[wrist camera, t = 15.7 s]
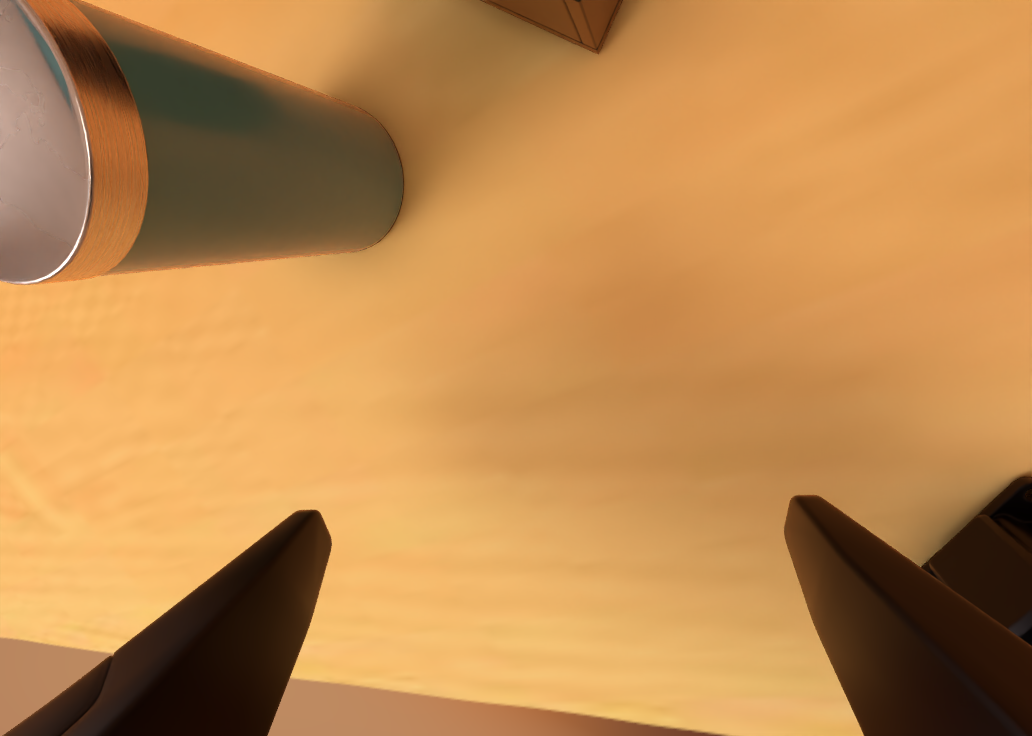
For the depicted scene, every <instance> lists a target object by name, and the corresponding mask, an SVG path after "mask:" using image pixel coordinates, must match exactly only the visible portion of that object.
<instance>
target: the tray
mask: <svg viewBox="0 0 1032 736" xmlns="http://www.w3.org/2000/svg"><path fill="white" fill-rule="evenodd" d="M481 1H483V2H485V3H487V4H489V5H492V6H494V7H496V8H498V9H500V10H502V11H505V12H507V13H509V14H511V15H513V16H516V17H518V18H520V19H522V20H524V21H526V22H529V23H531V24H533V25H535V26H537V27H540V28H542V29H544V30H546V31H548V32H550V33H553V34H555V35H557V36H559V37H561V38H563V39H566V40H568V41H570V42H572V43H574V44H577V45H579V46H581V47H583V48H585V49H587V50H590V51H592V52H594V53H596V54H599V52H600V50H601V48H602V46H603V43H604V41H605V39H606V37H607V34H608V32H609V30H610V28H611V25H612V23H613V21H614V19H615V16H616V14H617V12H618V10H619V7H620V5H621V3H622V1H623V0H481Z"/></svg>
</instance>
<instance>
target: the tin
mask: <svg viewBox="0 0 1032 736" xmlns="http://www.w3.org/2000/svg"><path fill="white" fill-rule="evenodd" d="M402 196H403V172H402V167H401V162H400V159H399V155H398V152H397V150H396V148H395V145H394V143H393V141H392V140H391V138H390V136H389V134H388V133H387V132H386V130H385V129H384V127H383V126H382V125H381V124H380V123H379V122H378V121H377V120H376V119H375V118H374V117H373V116H371V115H370V114H369V113H367V112H366V111H364V110H362V109H361V108H358V107H356V106H354V105H351V104H349V103H346V102H343V101H341V100H338V99H336V98H333V97H330V96H328V95H325V94H323V93H320V92H317V91H315V90H312V89H310V88H307V87H304V86H302V85H299V84H297V83H294V82H292V81H289V80H286V79H284V78H281V77H279V76H276V75H273V74H271V73H268V72H266V71H263V70H260V69H258V68H255V67H253V66H250V65H247V64H245V63H242V62H240V61H237V60H234V59H232V58H229V57H227V56H224V55H221V54H219V53H216V52H214V51H211V50H209V49H206V48H203V47H201V46H198V45H196V44H193V43H190V42H188V41H185V40H183V39H180V38H177V37H175V36H172V35H170V34H167V33H164V32H162V31H159V30H157V29H154V28H151V27H149V26H146V25H144V24H141V23H138V22H136V21H133V20H131V19H128V18H126V17H123V16H120V15H118V14H115V13H113V12H110V11H107V10H105V9H102V8H100V7H97V6H94V5H92V4H89V3H87V2H84V1H81V0H0V281H2V282H7V283H12V284H17V285H34V284H44V283H54V282H64V281H75V280H83V279H89V278H94V277H96V276H105V275H115V274H126V273H137V272H147V271H158V270H168V269H179V268H190V267H200V266H211V265H221V264H232V263H243V262H253V261H264V260H274V259H285V258H296V257H306V256H317V255H327V254H338V253H348V252H356V251H361V250H364V249H367V248H369V247H371V246H373V245H374V244H376V243H377V242H378V241H380V240H381V239H382V238H383V237H384V236H385V235H386V234H387V232H388V231H389V230H390V229H391V227H392V225H393V224H394V222H395V220H396V218H397V215H398V213H399V210H400V206H401V203H402Z"/></svg>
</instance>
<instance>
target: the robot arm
mask: <svg viewBox="0 0 1032 736" xmlns="http://www.w3.org/2000/svg"><path fill="white" fill-rule="evenodd" d="M1030 489H1032V477H1023V478H1019V479H1017V480H1015V481H1014V482H1012V483H1011V484H1010V485H1009V486H1008V487H1007V488H1006V489H1005V490H1004V491H1003V492H1002V493H1001V494H1000V495H998V496H997V497H996V498H995V499H994V500H993V501H992V502H991V503H990V504H989V505H988V506H987V507H986V508H985V509H984V510H982V511H981V512H980V513H979V514H978V515H977V516H976V517H975V518H974V519H973V520H972V521H971V522H970V523H969V524H967V525H966V526H965V527H964V528H963V529H962V530H961V531H960V532H959V533H958V534H957V535H956V536H955V537H954V538H953V539H951V540H950V541H949V542H948V543H947V544H946V545H945V546H944V547H943V548H942V549H941V550H940V551H939V552H938V553H937V554H935V555H934V556H933V557H932V558H931V559H930V560H929V561H928V562H927V563H926V564H925V565H924V566H923V567H922V568H921V567H919V566H918V565H916V564H915V563H914V562H912V561H911V560H909V559H908V558H906V557H905V556H904V555H902V554H901V553H899V552H898V551H897V550H895V549H894V548H892V547H891V546H889V545H888V544H887V543H885V542H884V541H882V540H881V539H880V538H878V537H877V536H875V535H874V534H873V533H871V532H870V531H868V530H867V529H865V528H864V527H863V526H861V525H860V524H858V523H857V522H856V521H854V520H853V519H851V518H850V517H848V516H847V515H846V514H844V513H843V512H841V511H840V510H839V509H837V508H836V507H834V506H833V505H831V504H830V503H829V502H827V501H826V500H824V499H823V498H821V497H819V496H817V495H797V496H794V497H792V499H791V500H790V504H789V508H788V513H787V517H786V522H785V526H784V535H785V540H786V543H787V546H788V549H789V552H790V555H791V558H792V561H793V564H794V567H795V570H796V573H797V576H798V579H799V582H800V585H801V588H802V591H803V594H804V597H805V600H806V603H807V606H808V609H809V612H810V615H811V618H812V620H813V623H814V626H815V628H816V630H817V633H818V635H819V637H820V640H821V642H822V644H823V646H824V648H825V651H826V653H827V655H828V657H829V659H830V662H831V664H832V666H833V668H834V670H835V673H836V675H837V677H838V679H839V681H840V683H841V686H842V688H843V690H844V692H845V694H846V697H847V699H848V701H849V703H850V705H851V708H852V710H853V712H854V714H855V716H856V718H857V721H858V723H859V725H860V727H861V729H862V732H863V734H864V736H1032V494H1031V495H1028V496H1025V494H1026V492H1027V491H1029V490H1030ZM331 546H332V541H331V536H330V534H329V531H328V529H327V527H326V525H325V522H324V520H323V518H322V515H321V513H320V512H319V511H317V510H299V511H296V512H295V513H293V514H292V515H290V516H289V517H288V518H287V519H285V520H284V521H283V522H281V523H280V524H279V525H278V526H276V527H275V528H274V529H272V530H271V531H270V532H269V533H267V534H266V535H265V536H263V537H262V538H261V539H260V540H258V541H257V542H256V543H254V544H253V545H252V546H251V547H249V548H248V549H247V550H245V551H244V552H243V553H242V554H240V555H239V556H238V557H236V558H235V559H234V560H233V561H231V562H230V563H229V564H227V565H226V566H225V567H224V568H222V569H221V570H220V571H218V572H217V573H216V574H215V575H213V576H212V577H211V578H209V579H208V580H207V581H206V582H204V583H203V584H202V585H200V586H199V587H198V588H197V589H195V590H194V591H193V592H191V593H190V594H189V595H188V596H186V597H185V598H184V599H182V600H181V601H180V602H179V603H177V604H176V605H175V606H173V607H172V608H171V609H170V610H168V611H167V612H166V613H164V614H163V615H162V616H161V617H159V618H158V619H157V620H155V621H154V622H153V623H152V624H150V625H149V626H148V627H146V628H145V629H144V630H142V631H141V632H140V633H139V634H137V635H136V636H135V637H133V638H132V639H131V640H130V641H128V642H127V643H126V644H124V645H123V646H122V647H121V648H119V649H118V650H117V651H116V652H115V653H114V655H113V656H109V657H108V658H106V659H105V660H104V661H102V662H101V663H100V664H99V665H97V666H96V667H95V668H94V669H92V670H91V671H90V672H88V673H87V674H86V675H84V676H83V677H82V678H81V679H79V680H78V681H77V682H75V683H74V684H73V685H71V686H70V687H69V688H67V689H66V690H65V691H63V692H62V693H61V694H60V695H58V696H57V697H55V698H54V699H53V700H51V701H50V702H49V703H47V704H46V705H45V706H43V707H42V708H40V709H39V710H38V711H36V712H35V713H34V714H32V715H31V716H30V717H28V718H27V719H25V720H24V721H22V722H21V723H20V724H18V725H17V726H15V727H14V728H13V729H11V730H10V731H8V732H7V733H6V734H4V735H3V736H267V735H268V733H269V730H270V727H271V725H272V722H273V720H274V717H275V714H276V711H277V709H278V707H279V704H280V702H281V699H282V696H283V694H284V691H285V688H286V686H287V683H288V681H289V678H290V676H291V673H292V670H293V668H294V665H295V663H296V660H297V657H298V655H299V652H300V650H301V647H302V644H303V642H304V639H305V637H306V634H307V631H308V628H309V626H310V623H311V619H312V616H313V613H314V609H315V606H316V602H317V599H318V595H319V591H320V588H321V584H322V580H323V577H324V573H325V570H326V566H327V562H328V559H329V555H330V552H331Z"/></svg>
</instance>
